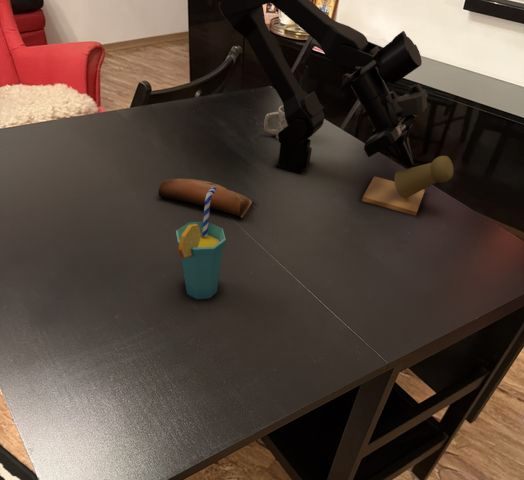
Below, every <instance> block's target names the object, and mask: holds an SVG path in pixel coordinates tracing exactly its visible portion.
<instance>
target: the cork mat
mask: <svg viewBox="0 0 524 480" xmlns="http://www.w3.org/2000/svg"><path fill="white" fill-rule="evenodd" d="M425 192H426V189H423V190H421V191H419V192H417V193H415V194H413V195H411V196H410V197H408V198H405V199H404V198H402V197H401V196H400V195H399V194H398V192H397V190H396V187H395V181H394V180H390V179H386V178H382V177H380V176H379V177H378V176H373V178H372V180H371V182H370V183H369V185H368V187H367V189H366V190H365V191H364V194H363V195H362V199H361V202H364V203H367V204H371V205H375V206H379V207H382V208H386V209H390V210H393V211H397V212H401V213H404V214H408V215H410V216H411V215H412V216H415V217H416V216H417V214H418V211H419V208H420V206H421V203H422V199H423V197H424V194H425Z"/></svg>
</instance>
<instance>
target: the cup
mask: <svg viewBox="0 0 524 480" xmlns="http://www.w3.org/2000/svg"><path fill="white" fill-rule="evenodd" d="M215 191H216V188H215V187H212V188H211V189H210V190H209V191H208V192H207V194H206V198H205V206H203V207H204V208H203V220H202V221H188V222H187V223H185V224H184V225H183V226H181V227H179V228H178V229H176V230H175V233H176V240H177V245H178V246H177V250H178V253H179V256H180V257H181V265H182V269H183V277H184V285H185V290H186V295H188V296H190V297H191V298H193V299H195V300H205V299H208V300H209V299H211V298H212V297H213V296H214V295H215V294H217V292H218V286H219V278H220V272H221V265H222V257H223V251H224V247H225V246H226V243H227V242H226V241H227V239H226V235H225V231H224V228H223V227H220V226H218V225H216V224H214V223H212V222H209V221H210V210H211V208H210V201H211V197H212V195H213V194H214V193H215Z"/></svg>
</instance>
